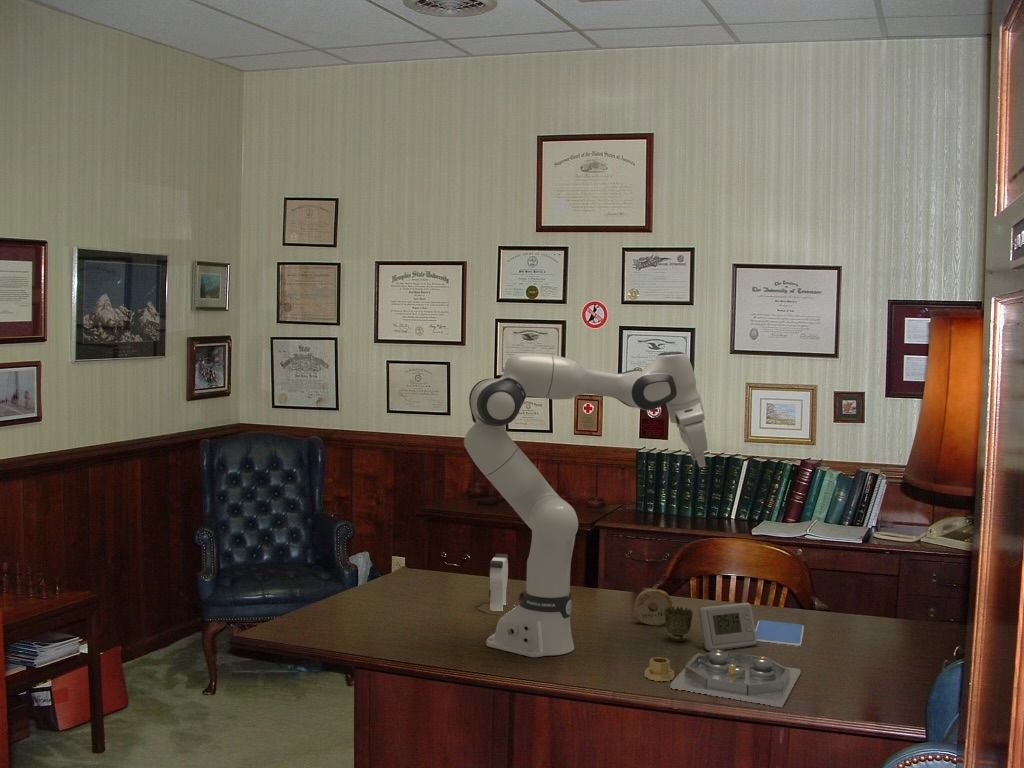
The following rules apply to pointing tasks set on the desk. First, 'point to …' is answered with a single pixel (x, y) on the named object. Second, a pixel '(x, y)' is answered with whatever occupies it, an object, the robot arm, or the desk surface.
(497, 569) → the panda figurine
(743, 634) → the digital clock
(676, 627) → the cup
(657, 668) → the flanged octagonal bushing
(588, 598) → the desk surface
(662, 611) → the stone disc
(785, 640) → the tablet computer
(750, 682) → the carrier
